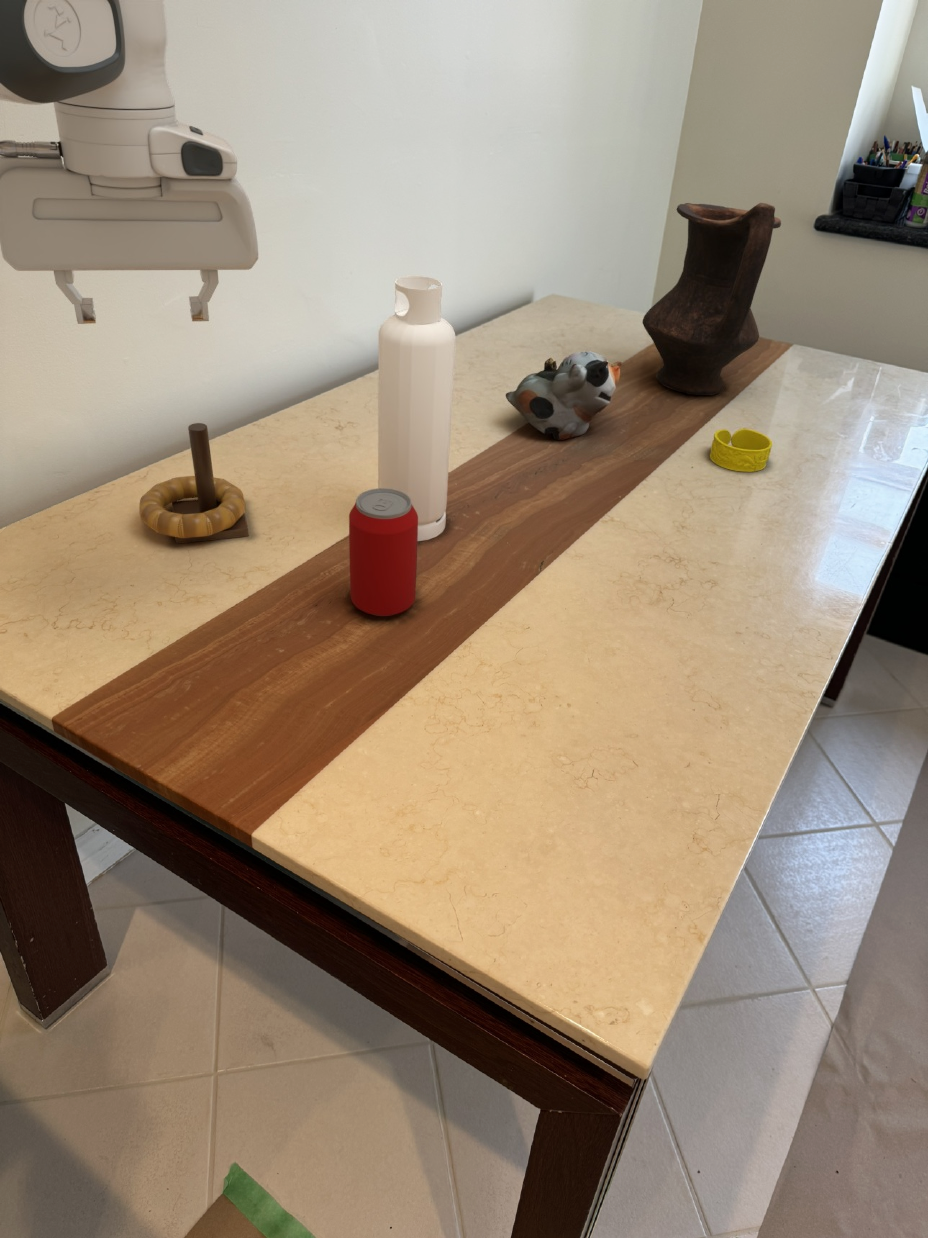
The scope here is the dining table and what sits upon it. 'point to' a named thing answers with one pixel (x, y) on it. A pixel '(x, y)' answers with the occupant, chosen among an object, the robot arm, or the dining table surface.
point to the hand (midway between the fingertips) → (144, 320)
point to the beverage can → (383, 552)
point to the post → (205, 488)
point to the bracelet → (740, 450)
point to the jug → (711, 296)
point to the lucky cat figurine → (566, 394)
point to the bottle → (416, 401)
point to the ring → (190, 523)
